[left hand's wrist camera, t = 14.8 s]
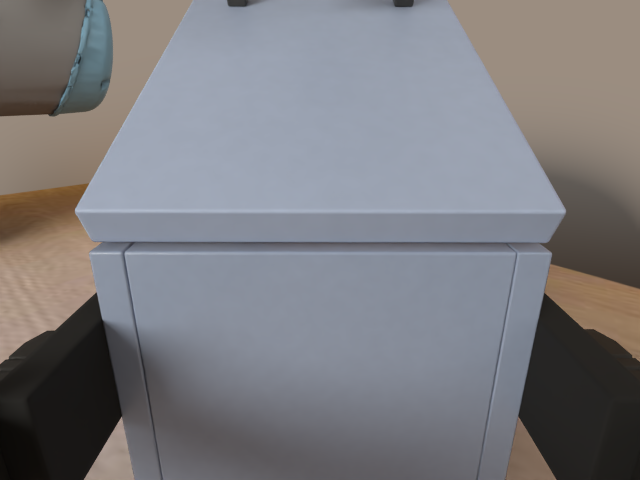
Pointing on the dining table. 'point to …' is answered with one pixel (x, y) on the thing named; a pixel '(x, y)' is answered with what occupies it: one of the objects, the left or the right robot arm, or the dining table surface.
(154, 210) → the lid
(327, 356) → the chest
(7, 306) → the dining table surface
